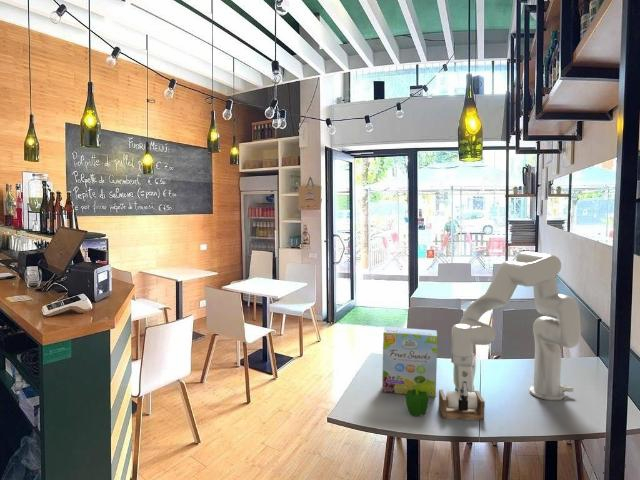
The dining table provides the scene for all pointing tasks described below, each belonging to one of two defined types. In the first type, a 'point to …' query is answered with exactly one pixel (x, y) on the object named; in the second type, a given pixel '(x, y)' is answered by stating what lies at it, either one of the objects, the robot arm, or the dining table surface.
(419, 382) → the snack box
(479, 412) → the cradle
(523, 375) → the dining table surface
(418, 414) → the bell pepper
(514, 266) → the robot arm
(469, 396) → the roll
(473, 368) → the beer glass
